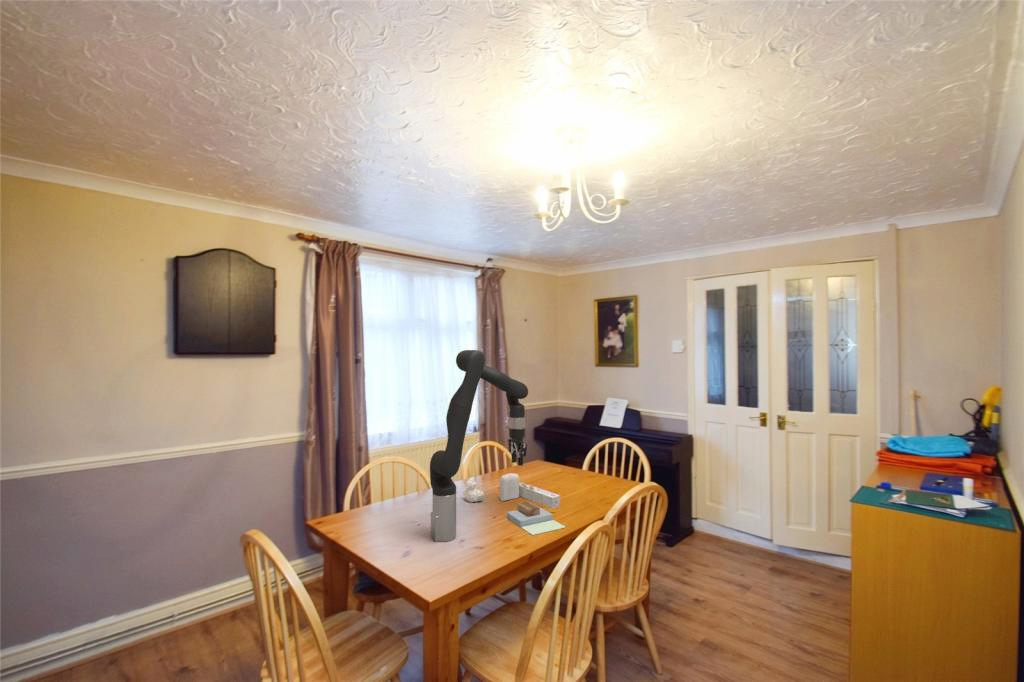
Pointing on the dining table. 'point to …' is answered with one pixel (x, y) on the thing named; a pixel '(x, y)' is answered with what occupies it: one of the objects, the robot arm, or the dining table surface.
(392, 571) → the dining table surface
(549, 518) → the pale blue flat slab
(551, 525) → the mat
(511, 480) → the photo printer
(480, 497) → the bust
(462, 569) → the dining table surface
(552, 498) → the box
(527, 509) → the block
